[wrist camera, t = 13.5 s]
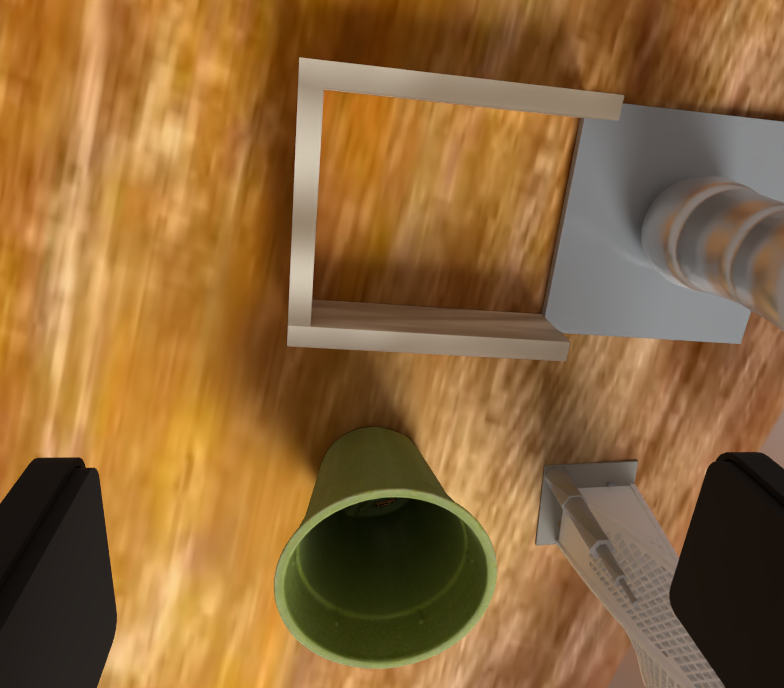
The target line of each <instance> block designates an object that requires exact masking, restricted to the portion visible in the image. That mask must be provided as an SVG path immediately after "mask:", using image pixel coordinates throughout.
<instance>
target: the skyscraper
mask: <svg viewBox="0 0 784 688" xmlns="http://www.w3.org/2000/svg"><path fill="white" fill-rule="evenodd" d="M637 465H638V461H637V460H636V461H617V462H599V463H580V464H561V465H544V473H543V482H542V491H541V499H540V508H539V517H538V526H537V535H536V543H535V544H536V545H551V544H557V546H558V547H559V549H560V550H561V551H562V553H563V554H564V556H565V557H566V558H567V560H568V561H569V562H570V564H571V565H572V566H573V568H574V569H575V570H576V572H577V573H578V574H579V576H580V577H581V578H582V580H583V581H584V582H585V583H586V585H587V586H588V587H589V589H590V590H591V591H592V592H593V593H594V595H595V596H596V597H597V598H598V600H599V601H600V602H601V603H602V604H603V606H604V607H605V608H606V609H607V610H608V611H609V613H610V614H611V615H612V616H613V617H614V618H615V620H616V621H617V622H618V623H619V624H620V625H621V626H622V627H623V628H624V630H625V632H626V633H627V635H628V637H629V639H630V641H631V643H632V645H633V647H634V649H635V652H636V654H637V659H638V663H639V667H640V671H641V675H642V679H643V683H644V687H645V688H725V686H724V685H723V683H722V682H721V680H720V679H719V677H718V676H717V675H716V673H715V672H714V670H713V669H712V667H711V666H710V664H709V663H708V662H707V660H706V659H705V657H704V656H703V654H702V653H701V651H700V650H699V649H698V647H697V646H696V644H695V643H694V641H693V640H692V638H691V637H690V636H689V634H688V633H687V631H686V630H685V628H684V627H683V625H682V624H681V623H680V621H679V620H678V618H677V617H676V615H675V614H674V612H673V610H672V607H671V604H670V599H669V591H670V586H671V583H672V580H673V577H674V573H675V570H676V567H677V564H678V561H679V557H678V556H677V554H676V552H675V550H674V549H673V547H672V545H671V544H670V542H669V540H668V539H667V537H666V535H665V533H664V532H663V530H662V528H661V527H660V525H659V523H658V522H657V520H656V518H655V517H654V515H653V513H652V512H651V510H650V508H649V507H648V505H647V503H646V502H645V500H644V498H643V497H642V495H641V493H640V492H639V490H638V488H637V487H636V485H635V483H634V481H635V476H636V470H637Z"/></svg>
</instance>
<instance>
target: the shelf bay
mask: <svg viewBox="0 0 784 688" xmlns="http://www.w3.org/2000/svg"><path fill="white" fill-rule="evenodd" d="M324 90H330V91H340V92H349V93H358V94H367V95H376V96H385V97H394V98H403V99H412V100H422V101H431V102H440V103H449V104H458V105H467V106H476V107H485V108H495V109H504V110H513V111H522V112H531V113H540V114H549V115H558V116H567V117H577V118H588V119H602V120H617V121H619V118H620V113H621V108H622V104H623V99H624V95H619V94H610V93H602V92H593V91H585V90H576V89H567V88H559V87H550V86H542V85H533V84H524V83H516V82H507V81H498V80H490V79H481V78H473V77H464V76H455V75H447V74H438V73H430V72H421V71H412V70H404V69H395V68H387V67H378V66H369V65H361V64H352V63H343V62H335V61H326V60H318V59H309V58H300V57H299V77H298V101H297V124H296V148H295V171H294V195H293V218H292V242H291V265H290V289H289V313H288V336H287V346H290V347H309V348H327V349H346V350H364V351H383V352H401V353H420V354H438V355H457V356H475V357H494V358H513V359H531V360H550V361H566V360H567V356H568V351H569V347H570V341H569V340H568V339H567V338H566V337H565V336H564V335H563V334H562V333H561V332H560V331H559V330H558V329H556V328H555V327H554V326H553V325H552V324H551V323H550V322H549V321H548V320H547V319H546V318H545V317H544V316H543V315H542V314H532V313H517V312H501V311H485V310H470V309H454V308H439V307H423V306H408V305H392V304H377V303H361V302H346V301H330V300H315V299H312V289H313V272H314V254H315V236H316V218H317V201H318V183H319V165H320V147H321V130H322V112H323V94H324Z"/></svg>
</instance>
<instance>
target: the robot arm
mask: <svg viewBox="0 0 784 688" xmlns="http://www.w3.org/2000/svg"><path fill="white" fill-rule="evenodd" d="M669 599H670V604H671V607H672V610H673V612H674V614H675V615H676V617H677V618H678V620H679V621H680V623H681V624H682V625H683V627H684V628H685V630H686V631H687V633H688V634H689V636H690V637H691V638H692V640H693V641H694V643H695V644H696V646H697V647H698V649H699V650H700V651H701V653H702V654H703V656H704V657H705V659H706V660H707V662H708V663H709V664H710V666H711V667H712V669H713V670H714V672H715V673H716V675H717V676H718V677H719V679H720V680H721V682H722V683H723V685H724V686H725V688H784V469H783V468H782V467H781V466H779V465H778V464H777V463H776V462H774V461H773V460H772V459H771V458H769V457H768V456H766V455H765V454H763V453H758V452H726V453H723V454H721V455H720V456H719V457H718V458H717V460H716V462H713V463H711V464H710V465H709V467H708V469H707V472H706V475H705V478H704V481H703V484H702V487H701V491H700V494H699V497H698V500H697V503H696V507H695V510H694V513H693V516H692V519H691V522H690V526H689V529H688V532H687V535H686V538H685V542H684V545H683V548H682V551H681V554H680V557H679V561H678V564H677V567H676V570H675V573H674V577H673V580H672V583H671V586H670V591H669ZM116 623H117V612H116V603H115V596H114V588H113V580H112V572H111V565H110V557H109V549H108V541H107V534H106V526H105V518H104V510H103V503H102V495H101V487H100V479H99V474H98V471H97V469H95V468H86V467H85V464H84V462H83V460H82V459H81V458H36V459H34V460H33V461H32V462H31V463H30V464H29V465H28V467H27V468H26V469H25V471H24V472H23V473H22V475H21V476H20V478H19V479H18V480H17V482H16V483H15V484H14V486H13V487H12V489H11V490H10V491H9V493H8V494H7V495H6V497H5V498H4V499H3V501H2V502H1V504H0V688H97V686H98V683H99V680H100V677H101V674H102V671H103V669H104V666H105V663H106V660H107V657H108V654H109V651H110V648H111V646H112V643H113V639H114V636H115V631H116Z"/></svg>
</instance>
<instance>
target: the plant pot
mask: <svg viewBox="0 0 784 688" xmlns="http://www.w3.org/2000/svg"><path fill="white" fill-rule="evenodd" d="M393 497H394V499H395V501H394V502H392V503H390V504H388V505H384V506H380V507H375V506H374V504H375V503H376V502H381V501H384V500H388V499H391V498H393ZM361 509H362V510H361ZM496 579H497V562H496V555H495V552H494V548H493V545H492V543H491V540H490V538H489V536H488V535H487V533H486V532H485V530H484V528H483V527H482V526H481V524H480V523H479V522H478V521H477V520H476V519H475V518H474V517H473V516H472V515H471V514H470V513H469V512H468V511H467V510H466V509H464V508H463V507H461V506H460V505H459V504H457V503H455V502H454V501H453V500H452V499H451V498H450V497H449V496H448V495H447V494H446V492H445V491H444V489H443V487H442V486H441V484H440V483H439V481H438V480H437V478H436V476H435V475H434V473H433V472H432V470H431V469H430V467H429V466H428V464H427V462H426V461H425V459H424V458H423V456H422V455H421V453H420V451H419V450H418V448H417V447H416V445H415V444H414V443H413V442H412V441H411V440H410V439H409V438H408V437H406V436H405V435H403V434H401V433H398V432H395V431H392V430H389V429H385V428H382V427H366V428H360V429H357V430H354V431H351V432H349V433H347V434H345V435H344V436H342V437H341V438H339V439H338V440H337V441H336V442H334V443H333V444H332V446H331V447H330V448H329V449H328V451H327V453H326V455H325V456H324V458H323V461H322V463H321V466H320V469H319V472H318V476H317V479H316V483H315V486H314V489H313V492H312V496H311V499H310V502H309V506H308V509H307V512H306V516H305V518H304V519H303V521H302V523H301V524H300V526H299V528H298V529H297V530H296V531H295V533H294V534H293V535H292V537H291V538H290V539H289V541H288V543H287V544H286V546H285V548H284V549H283V551H282V554H281V556H280V558H279V561H278V564H277V568H276V572H275V579H274V594H275V601H276V605H277V609H278V612H279V614H280V616H281V618H282V620H283V622H284V624H285V625H286V627H287V628H288V630H289V631H290V633H291V634H292V635H293V636H294V637H295V638H296V639H297V640H298V641H299V642H300V643H301V644H302V645H304V646H305V647H306V648H308V649H309V650H311V651H312V652H314V653H316V654H317V655H319V656H321V657H323V658H326V659H328V660H331V661H334V662H337V663H340V664H344V665H348V666H353V667H359V668H377V669H380V668H393V667H400V666H405V665H409V664H413V663H417V662H419V661H422V660H425V659H428V658H430V657H432V656H435V655H437V654H439V653H441V652H443V651H444V650H446V649H448V648H450V647H451V646H453V645H454V644H455V643H457V642H458V641H459V640H461V639H462V638H463V637H464V636H465V635H466V634H467V633H468V632H469V631H471V629H472V628H473V627H474V626H475V625H476V624H477V623H478V621H479V620H480V619H481V617H482V616H483V614H484V612H485V611H486V609H487V607H488V605H489V603H490V601H491V599H492V596H493V593H494V590H495V585H496Z"/></svg>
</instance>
